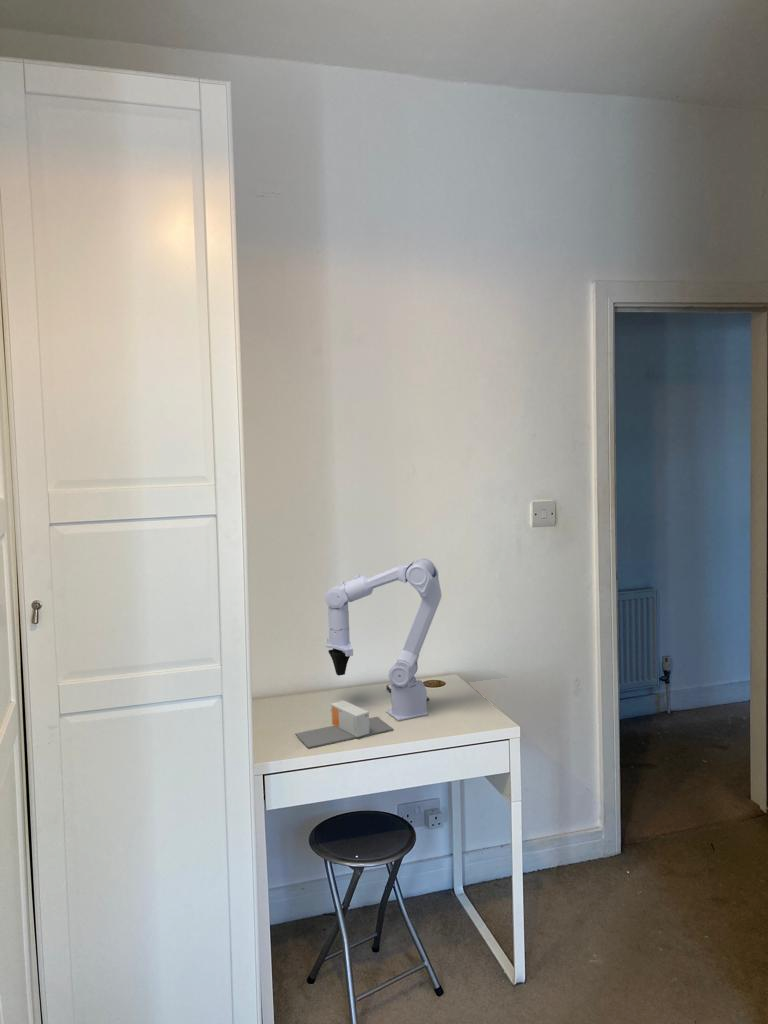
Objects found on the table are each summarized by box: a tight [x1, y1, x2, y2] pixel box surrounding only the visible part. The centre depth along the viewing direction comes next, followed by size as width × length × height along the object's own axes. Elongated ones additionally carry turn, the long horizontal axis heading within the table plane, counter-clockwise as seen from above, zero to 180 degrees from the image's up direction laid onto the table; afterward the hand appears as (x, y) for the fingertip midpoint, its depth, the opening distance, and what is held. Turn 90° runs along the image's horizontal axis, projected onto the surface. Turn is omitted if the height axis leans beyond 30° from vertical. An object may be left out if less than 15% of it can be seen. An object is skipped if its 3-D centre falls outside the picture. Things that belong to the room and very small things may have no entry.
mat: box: [294, 716, 394, 750], centre depth 206 cm, size 24×10×1 cm, turn 116°
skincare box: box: [330, 699, 370, 737], centre depth 207 cm, size 6×4×12 cm
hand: (340, 674), depth 221 cm, fingers closed
